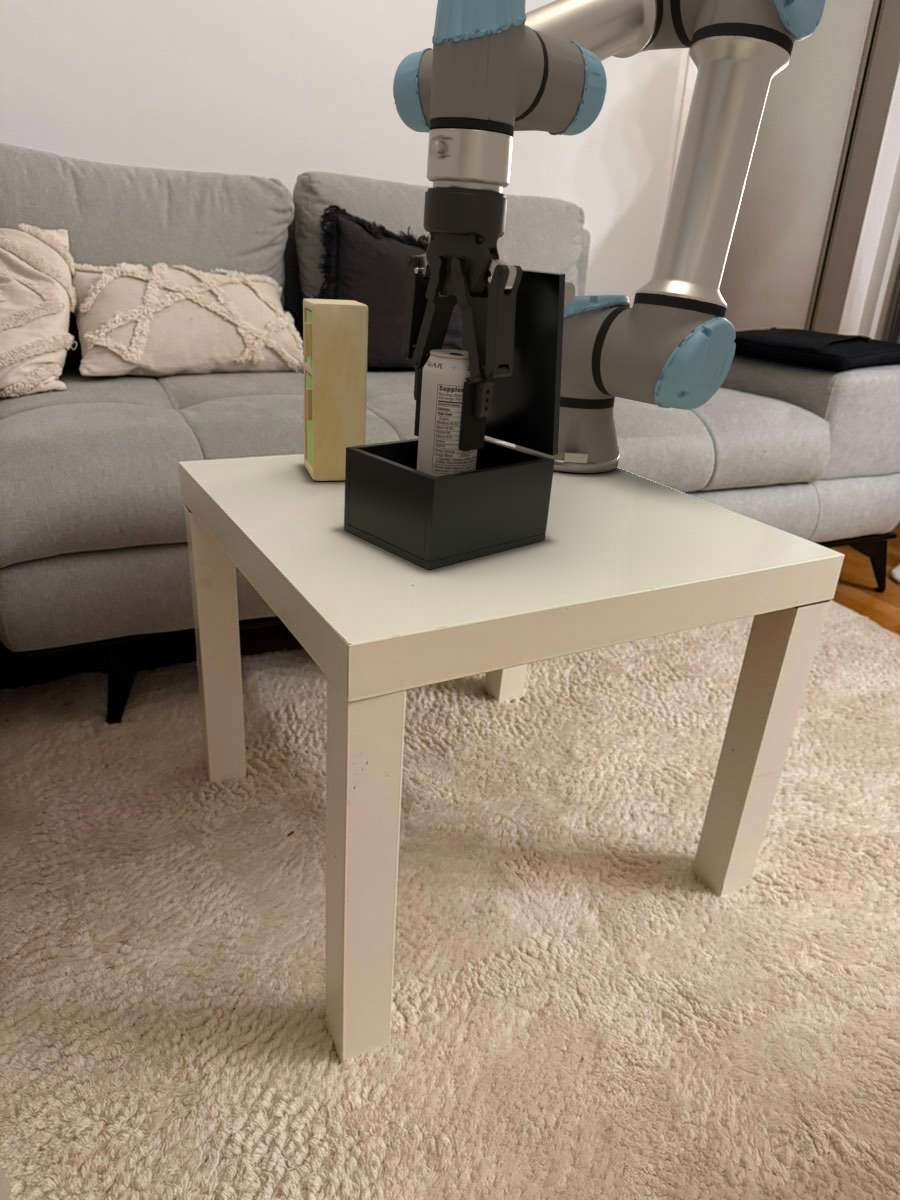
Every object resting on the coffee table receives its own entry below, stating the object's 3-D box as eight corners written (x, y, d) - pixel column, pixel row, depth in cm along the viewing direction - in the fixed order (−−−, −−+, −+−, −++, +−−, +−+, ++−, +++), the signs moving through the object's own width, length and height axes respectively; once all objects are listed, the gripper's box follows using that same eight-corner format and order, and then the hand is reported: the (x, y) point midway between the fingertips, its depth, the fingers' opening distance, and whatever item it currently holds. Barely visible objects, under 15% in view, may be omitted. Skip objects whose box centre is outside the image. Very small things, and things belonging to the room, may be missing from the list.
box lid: (560, 274, 79) (603, 267, 83) (460, 263, 88) (503, 258, 92) (552, 456, 87) (592, 442, 91) (462, 429, 96) (501, 417, 100)
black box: (428, 570, 80) (434, 479, 77) (343, 529, 89) (345, 447, 86) (545, 540, 91) (555, 459, 87) (458, 506, 100) (464, 432, 96)
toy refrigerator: (297, 465, 112) (297, 296, 104) (352, 464, 114) (356, 299, 106) (306, 481, 105) (307, 302, 97) (364, 481, 107) (370, 305, 99)
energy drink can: (461, 493, 92) (473, 349, 86) (480, 509, 87) (494, 358, 81) (407, 493, 90) (416, 347, 84) (424, 511, 85) (434, 356, 79)
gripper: (369, 182, 81) (361, 425, 90) (514, 185, 68) (488, 467, 77) (429, 190, 85) (415, 420, 94) (574, 194, 73) (543, 458, 82)
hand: (448, 441), depth 86 cm, fingers closed on energy drink can, 6 cm apart
